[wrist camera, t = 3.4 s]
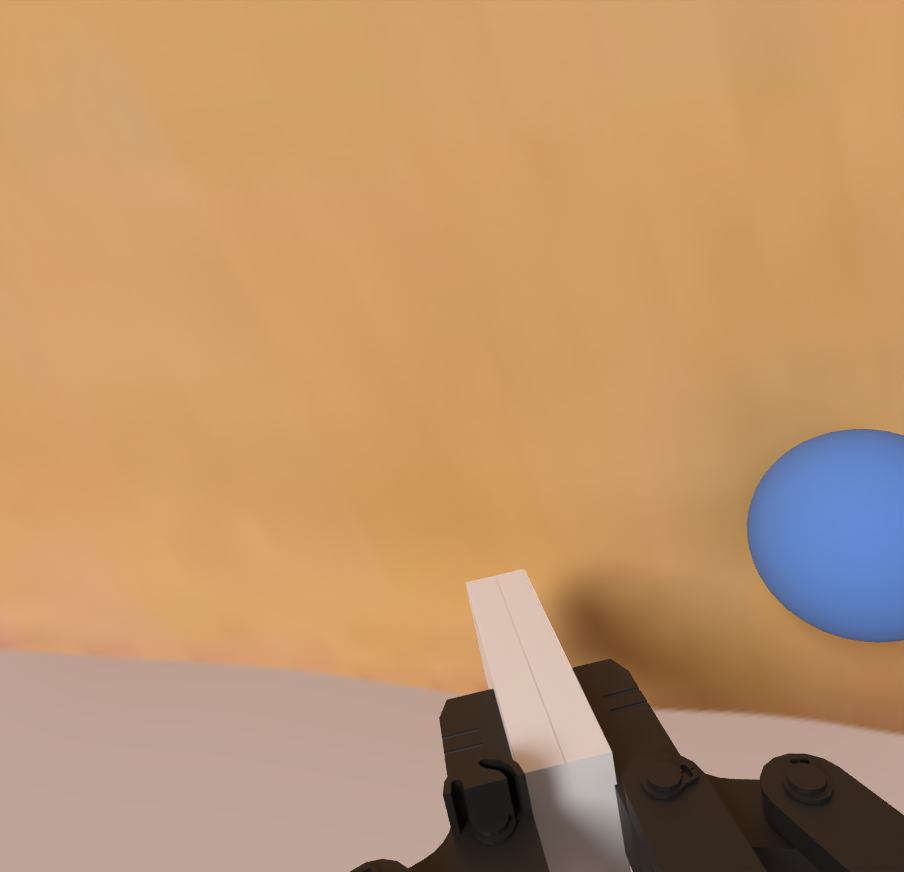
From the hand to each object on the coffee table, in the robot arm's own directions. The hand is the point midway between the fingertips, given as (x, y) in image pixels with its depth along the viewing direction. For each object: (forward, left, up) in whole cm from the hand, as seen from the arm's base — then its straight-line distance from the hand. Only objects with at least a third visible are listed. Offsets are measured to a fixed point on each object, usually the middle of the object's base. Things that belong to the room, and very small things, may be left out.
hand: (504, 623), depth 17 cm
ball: (-10, 0, 0) cm, 10 cm away
